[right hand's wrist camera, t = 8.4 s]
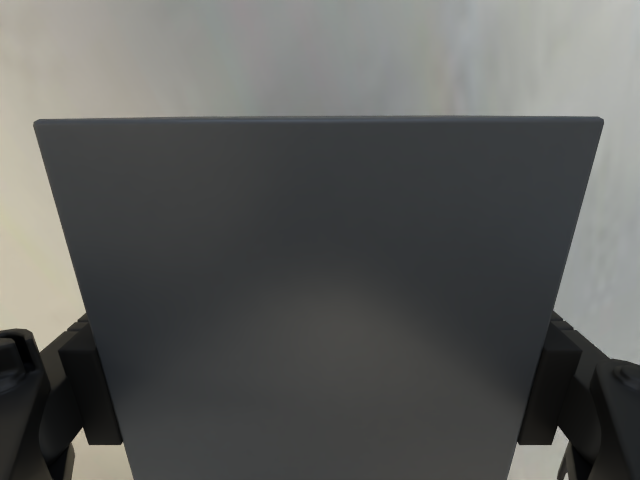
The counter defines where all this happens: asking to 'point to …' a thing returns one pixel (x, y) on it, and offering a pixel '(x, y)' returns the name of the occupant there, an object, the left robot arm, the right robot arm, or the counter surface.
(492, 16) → the counter surface
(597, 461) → the right robot arm
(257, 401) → the wide beam
